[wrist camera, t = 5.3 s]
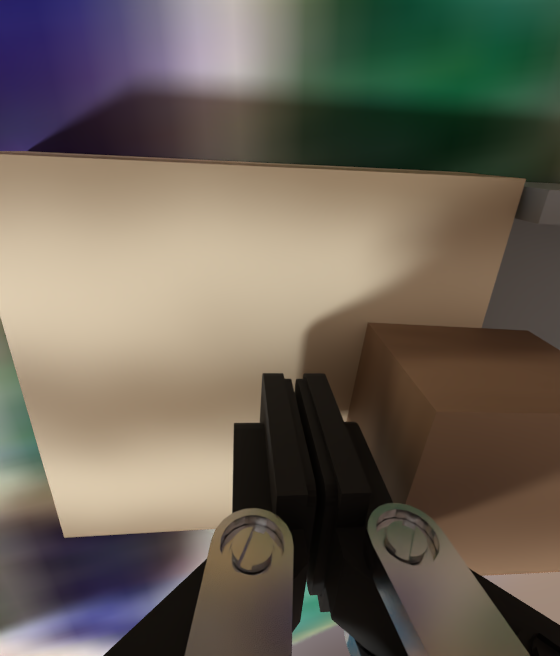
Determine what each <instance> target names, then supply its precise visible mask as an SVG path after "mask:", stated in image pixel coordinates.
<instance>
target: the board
mask: <svg viewBox="0 0 560 656" xmlns="http://www.w3.org/2000/svg"><path fill="white" fill-rule="evenodd" d="M525 181H526V179H523V178H513V177H503V176H494V175H484V174H474V173H464V172H447V171H426V170H405V169H384V168H364V167H343V166H322V165H301V164H280V163H260V162H239V161H218V160H197V159H176V158H156V157H135V156H114V155H93V154H72V153H51V152H31V151H0V316H1V320H2V323H3V327H4V330H5V334H6V337H7V341H8V344H9V348H10V351H11V355H12V358H13V362H14V365H15V368H16V372H17V375H18V379H19V382H20V386H21V389H22V393H23V396H24V400H25V403H26V407H27V410H28V414H29V417H30V420H31V424H32V427H33V431H34V434H35V438H36V441H37V445H38V448H39V452H40V455H41V459H42V462H43V466H44V469H45V473H46V476H47V479H48V483H49V486H50V490H51V493H52V497H53V500H54V504H55V507H56V511H57V514H58V518H59V521H60V525H61V528H62V531H63V535H64V538H67V537H84V536H101V535H118V534H135V533H152V532H168V531H185V530H202V529H216V528H217V527H218V525H219V524H220V523H221V522H222V521H223V519H225V518H226V517H228V516H229V515H231V514H232V496H233V440H234V423H260V406H261V387H262V374H263V373H283V374H284V379H291V380H292V384H293V389H294V392H295V382H296V379H303V374H304V373H324V374H325V375H326V377H327V380H328V382H329V385H330V387H331V390H332V392H333V395H334V398H335V400H336V403H337V405H338V408H339V410H340V413H341V415H342V418H343V420H344V422H346V420H347V416H348V411H349V407H350V402H351V397H352V393H353V388H354V384H355V379H356V374H357V370H358V365H359V361H360V356H361V351H362V347H363V342H364V338H365V333H366V328H367V324H368V322H369V323H389V324H408V325H428V326H448V327H468V328H482V324H483V321H484V318H485V314H486V311H487V308H488V304H489V301H490V298H491V294H492V291H493V288H494V284H495V281H496V278H497V274H498V271H499V268H500V264H501V261H502V258H503V254H504V251H505V248H506V244H507V241H508V238H509V234H510V231H511V228H512V224H513V221H514V218H515V214H516V211H517V208H518V204H519V201H520V198H521V194H522V191H523V188H524V184H525Z"/></svg>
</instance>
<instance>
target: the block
mask: <svg viewBox="0 0 560 656" xmlns="http://www.w3.org/2000/svg"><path fill="white" fill-rule="evenodd" d="M346 422H356V423H358V425H359V427H360V429H361V431H362V433H363V436H364V438H365V440H366V442H367V445H368V447H369V449H370V451H371V454H372V456H373V458H374V460H375V463H376V465H377V467H378V469H379V472H380V474H381V476H382V478H383V481H384V483H385V485H386V487H387V490H388V492H389V494H390V496H391V499H392V501H393V503H401V504H406V505H410V506H412V507H414V508H417V509H419V510H421V511H422V512H424V513H425V514H427V515H428V516H429V517H431V518H432V519H433V520H434V521H435V522H436V524H437V525H438V526H439V527H440V528H441V529H442V531H443V532H444V534H445V535H446V536H447V538H448V539H449V541H450V542H451V544H452V545H453V546H454V548H455V549H456V551H457V552H458V554H459V555H460V556H461V558H462V559H463V561H464V562H465V563H466V565H467V566H468V568H470V569H471V570H473V571H474V572H476V573H477V574H479V575H481V576H483V575H503V574H523V573H540V572H541V573H543V572H560V350H559V349H557V348H555V347H554V346H552V345H551V344H549V343H547V342H546V341H544V340H542V339H541V338H539V337H538V336H536V335H534V334H533V333H531V332H530V331H528V330H508V329H488V328H468V327H448V326H428V325H408V324H389V323H369V322H368V324H367V328H366V333H365V338H364V342H363V347H362V351H361V356H360V361H359V365H358V370H357V374H356V379H355V384H354V388H353V393H352V397H351V402H350V407H349V411H348V416H347V420H346Z"/></svg>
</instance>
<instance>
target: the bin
mask: <svg viewBox="0 0 560 656" xmlns="http://www.w3.org/2000/svg"><path fill="white" fill-rule="evenodd" d="M482 328H488V329H508V330H528V331H530V332H531V333H533V334H534V335H536V336H538V337H539V338H541V339H542V340H544V341H546V342H547V343H549V344H551V345H552V346H554V347H555V348H557V349H559V350H560V183H538V182H525V184H524V188H523V191H522V194H521V198H520V201H519V204H518V208H517V211H516V214H515V218H514V221H513V224H512V228H511V231H510V234H509V238H508V241H507V244H506V248H505V251H504V254H503V258H502V261H501V264H500V268H499V271H498V274H497V278H496V281H495V284H494V288H493V291H492V294H491V298H490V301H489V304H488V308H487V311H486V314H485V318H484V321H483V324H482Z"/></svg>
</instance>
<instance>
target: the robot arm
mask: <svg viewBox="0 0 560 656" xmlns="http://www.w3.org/2000/svg"><path fill="white" fill-rule="evenodd" d="M306 580H307V586H308V591H309V594H310V595H318V601H319V606H320V612H330V613H331V618H332V620H333V621H334V622H336V623H337V624H338V625H339V626H340V627H341V628H343V629H344V634H345V639H346V644H347V647H348V650H349V653H350V656H560V625H559V624H557V623H555V622H554V621H552V620H551V619H549V618H547V617H546V616H544V615H543V614H541V613H540V612H538V611H536V610H535V609H533V608H532V607H530V606H528V605H527V604H525V603H524V602H522V601H520V600H519V599H517V598H516V597H514V596H512V595H511V594H509V593H508V592H506V591H504V590H503V589H501V588H500V587H498V586H497V585H495V584H493V583H492V582H490V581H489V580H487V579H485V578H484V577H482V576H481V575H479V574H477V573H476V572H474V571H473V570H471V569H470V568H468V566H467V565H466V563H465V562H464V561H463V559H462V558H461V556H460V555H459V554H458V552H457V551H456V549H455V548H454V546H453V545H452V544H451V542H450V541H449V539H448V538H447V536H446V535H445V534H444V532H443V531H442V529H441V528H440V527H439V526H438V525H437V524H436V522H435V521H434V520H433V519H432V518H431V517H429V516H428V515H427V514H425V513H424V512H422V511H421V510H419V509H417V508H414V507H412V506H410V505H406V504H401V503H393V501H392V499H391V496H390V494H389V492H388V490H387V487H386V485H385V483H384V481H383V478H382V476H381V474H380V472H379V469H378V467H377V465H376V463H375V460H374V458H373V456H372V454H371V451H370V449H369V447H368V445H367V442H366V440H365V438H364V436H363V433H362V431H361V429H360V427H359V425H358V423H356V422H344V420H343V418H342V415H341V413H340V410H339V408H338V405H337V403H336V400H335V398H334V395H333V392H332V390H331V387H330V385H329V382H328V380H327V377H326V375H325V374H324V373H304V374H303V379H296V382H295V392H294V389H293V384H292V380H291V379H284V374H283V373H263V374H262V387H261V406H260V423H234V440H233V496H232V514H231V515H229V516H228V517H226V518H225V519H223V521H222V522H221V523H220V524H219V525H218V527H217V528H216V530H215V532H214V535H213V537H212V540H211V544H210V548H209V553H208V557H207V559H206V560H205V561H204V562H203V563H202V564H201V565H200V566H199V567H198V568H196V569H195V570H194V571H193V572H192V573H191V574H190V575H189V576H188V577H187V578H186V579H185V580H184V581H183V582H182V583H180V584H179V585H178V586H177V587H176V588H175V589H174V590H173V591H172V592H171V593H170V594H169V595H168V596H167V597H165V598H164V599H163V600H162V601H161V602H160V603H159V604H158V605H157V606H156V607H155V608H154V609H153V610H152V611H151V612H149V613H148V614H147V615H146V616H145V617H144V618H143V619H142V620H141V621H140V622H139V623H138V624H137V625H136V626H135V627H133V628H132V629H131V630H130V631H129V632H128V633H127V634H126V635H125V636H124V637H123V638H122V639H121V640H120V641H118V642H117V643H116V644H115V645H114V646H113V647H112V648H111V649H110V650H109V651H108V652H107V653H106V654H105V655H104V656H292V632H293V631H294V629H295V628H296V626H297V625H298V624H299V622H300V619H301V612H302V605H303V598H304V592H305V585H306Z"/></svg>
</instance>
